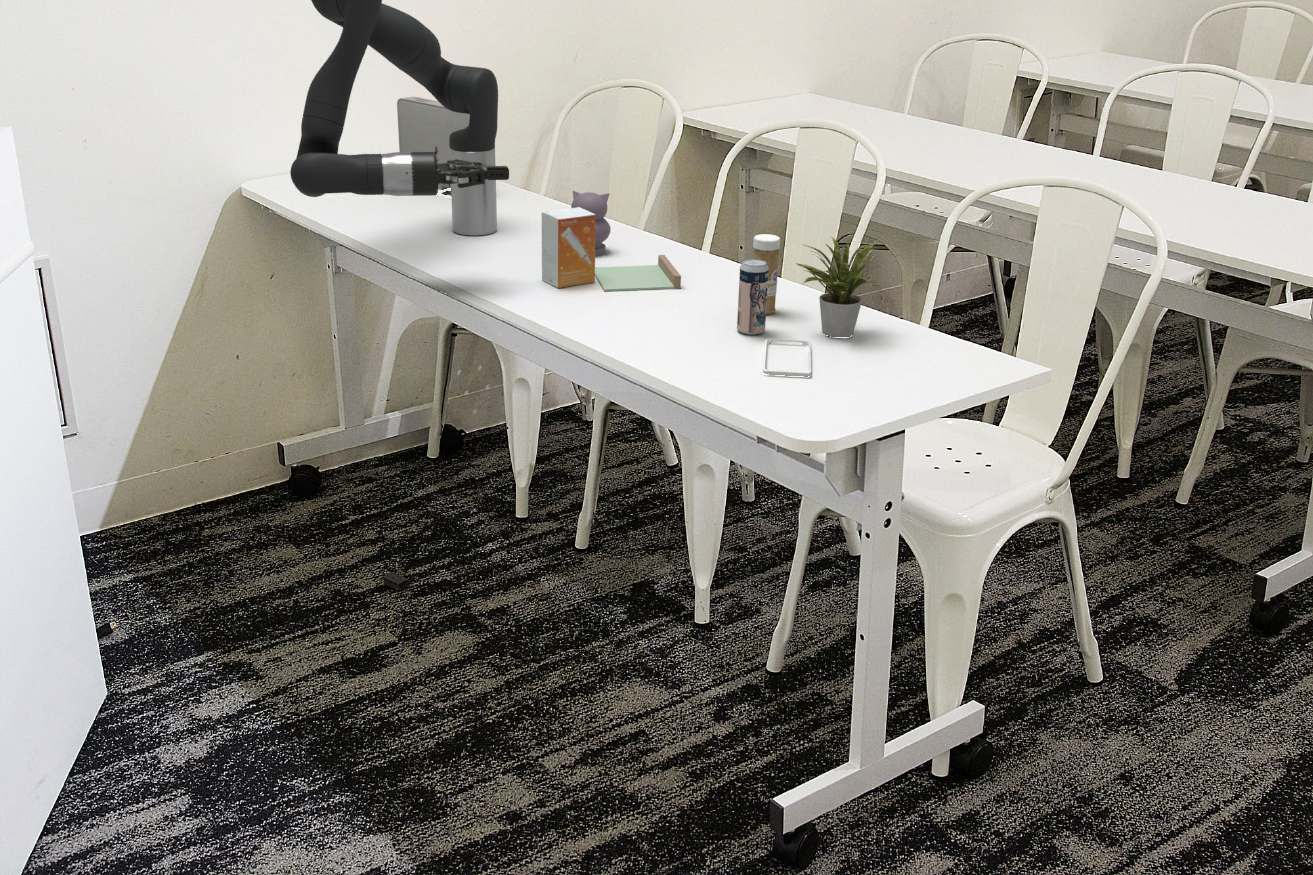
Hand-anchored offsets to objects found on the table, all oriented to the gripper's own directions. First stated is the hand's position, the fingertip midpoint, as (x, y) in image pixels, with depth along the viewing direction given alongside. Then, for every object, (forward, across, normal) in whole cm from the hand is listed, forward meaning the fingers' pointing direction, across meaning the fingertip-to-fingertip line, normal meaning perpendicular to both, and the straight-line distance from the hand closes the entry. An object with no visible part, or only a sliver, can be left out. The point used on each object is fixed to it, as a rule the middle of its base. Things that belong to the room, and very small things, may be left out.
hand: (508, 172), depth 233 cm
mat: (+23, 0, +20) cm, 31 cm away
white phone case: (+39, -46, +22) cm, 64 cm away
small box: (+11, 0, +21) cm, 23 cm away
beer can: (+37, -32, +21) cm, 53 cm away
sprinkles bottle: (+42, -22, +21) cm, 51 cm away
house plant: (+52, -34, +21) cm, 65 cm away
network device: (-7, +75, +20) cm, 78 cm away
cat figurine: (+18, +19, +20) cm, 33 cm away
